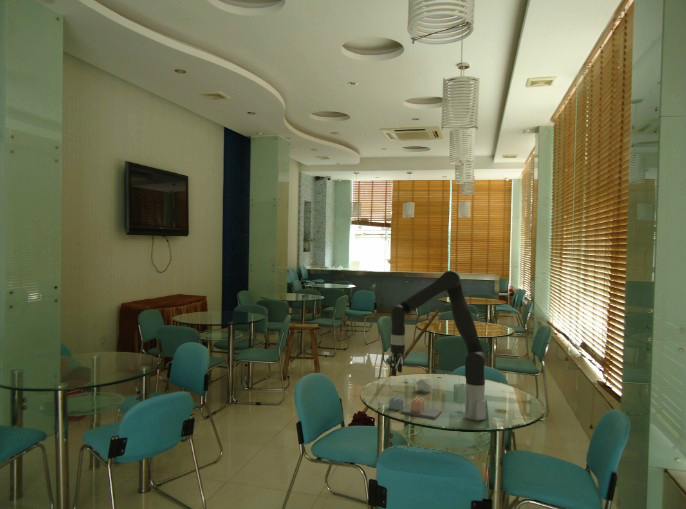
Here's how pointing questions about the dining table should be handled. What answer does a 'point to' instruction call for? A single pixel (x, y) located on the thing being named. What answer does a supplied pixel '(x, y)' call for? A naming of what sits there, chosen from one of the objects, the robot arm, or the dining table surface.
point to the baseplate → (425, 413)
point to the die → (424, 384)
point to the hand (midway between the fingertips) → (396, 374)
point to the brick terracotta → (417, 404)
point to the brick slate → (396, 403)
